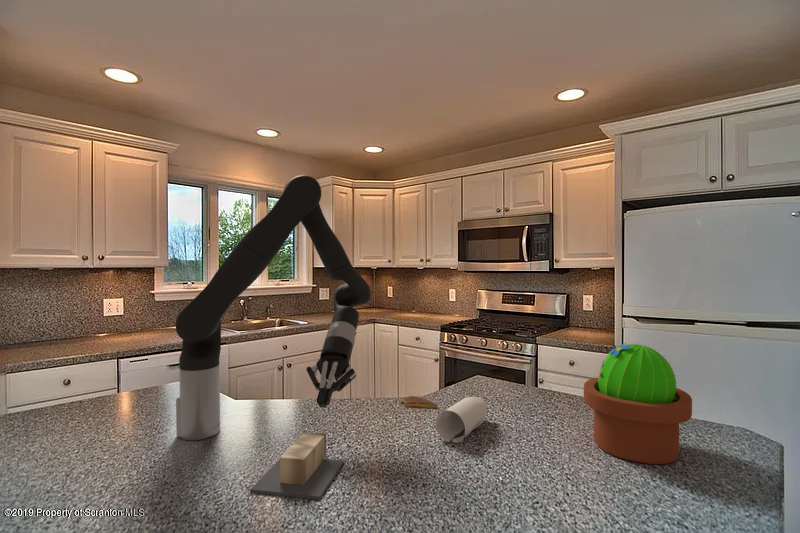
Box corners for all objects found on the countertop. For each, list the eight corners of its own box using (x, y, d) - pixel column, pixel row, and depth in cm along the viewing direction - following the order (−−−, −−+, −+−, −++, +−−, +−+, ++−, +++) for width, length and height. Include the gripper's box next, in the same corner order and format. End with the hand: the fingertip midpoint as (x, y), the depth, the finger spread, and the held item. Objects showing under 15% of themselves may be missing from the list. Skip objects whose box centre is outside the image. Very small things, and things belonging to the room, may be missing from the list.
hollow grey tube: (495, 422, 114) (495, 393, 114) (464, 447, 98) (464, 414, 98) (468, 416, 118) (469, 388, 118) (435, 439, 103) (435, 407, 103)
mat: (250, 492, 80) (250, 489, 80) (283, 457, 93) (283, 455, 93) (319, 499, 77) (319, 496, 77) (343, 463, 91) (343, 460, 91)
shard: (438, 409, 124) (438, 403, 124) (417, 415, 120) (417, 408, 120) (417, 399, 133) (416, 394, 133) (397, 404, 129) (396, 398, 129)
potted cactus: (684, 438, 103) (685, 337, 102) (698, 480, 83) (700, 356, 83) (587, 422, 113) (587, 330, 112) (579, 456, 94) (580, 345, 93)
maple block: (304, 454, 94) (280, 482, 82) (304, 432, 94) (279, 457, 82) (326, 456, 93) (303, 485, 81) (325, 433, 93) (303, 459, 81)
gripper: (311, 333, 107) (290, 396, 96) (360, 335, 105) (345, 400, 93) (319, 349, 113) (300, 411, 101) (366, 351, 110) (352, 415, 98)
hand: (322, 405), depth 97 cm, fingers closed
